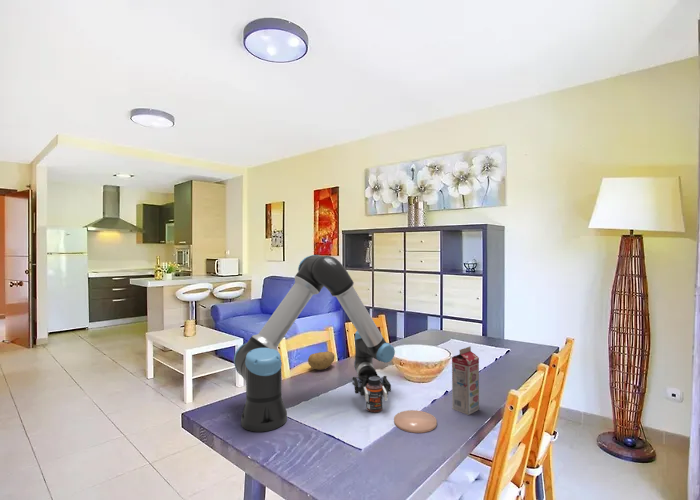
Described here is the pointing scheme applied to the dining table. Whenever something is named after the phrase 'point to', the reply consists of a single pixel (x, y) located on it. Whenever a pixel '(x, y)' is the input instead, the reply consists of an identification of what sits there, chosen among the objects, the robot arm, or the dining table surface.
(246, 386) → the robot arm
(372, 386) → the supplement bottle
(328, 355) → the potato
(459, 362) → the juice carton
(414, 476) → the dining table surface
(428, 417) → the saucer
